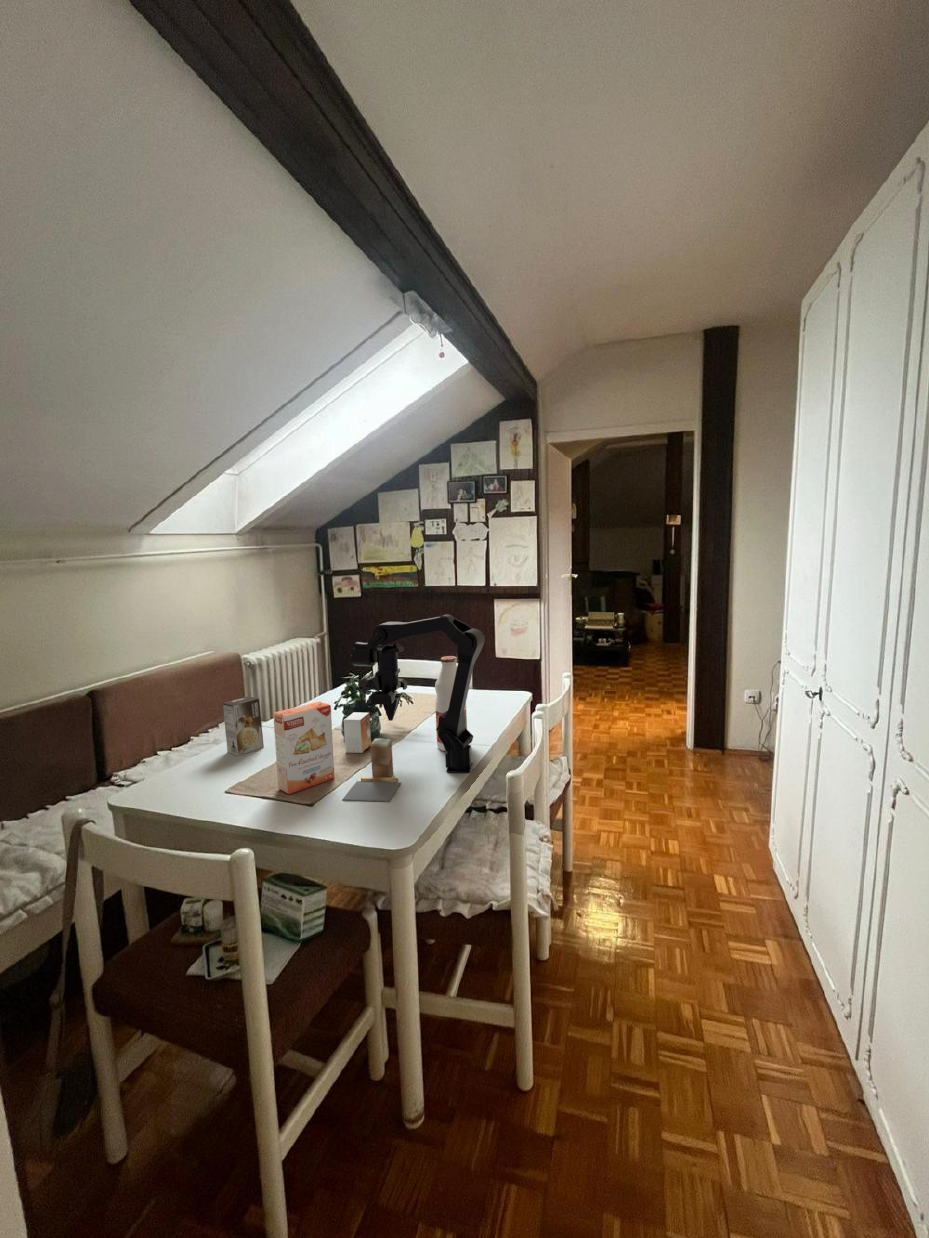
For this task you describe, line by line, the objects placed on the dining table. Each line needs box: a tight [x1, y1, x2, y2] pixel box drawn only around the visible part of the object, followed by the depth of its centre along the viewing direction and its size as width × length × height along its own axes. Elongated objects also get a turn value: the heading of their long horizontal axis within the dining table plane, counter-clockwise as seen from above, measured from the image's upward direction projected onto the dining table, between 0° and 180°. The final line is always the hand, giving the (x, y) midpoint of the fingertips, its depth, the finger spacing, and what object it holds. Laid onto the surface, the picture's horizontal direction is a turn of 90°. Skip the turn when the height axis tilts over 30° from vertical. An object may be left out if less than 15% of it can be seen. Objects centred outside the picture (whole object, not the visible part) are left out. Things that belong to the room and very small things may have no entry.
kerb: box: [360, 776, 399, 782], centre depth 155 cm, size 10×1×1 cm, turn 81°
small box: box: [343, 711, 372, 754], centre depth 180 cm, size 8×6×10 cm
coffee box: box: [222, 695, 265, 757], centre depth 182 cm, size 9×6×16 cm
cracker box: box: [272, 701, 335, 795], centre depth 154 cm, size 14×6×21 cm, turn 136°
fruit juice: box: [434, 655, 468, 752], centre depth 178 cm, size 9×9×28 cm
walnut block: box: [370, 738, 394, 778], centre depth 158 cm, size 4×4×10 cm
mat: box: [341, 780, 402, 803], centre depth 149 cm, size 12×11×1 cm
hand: (390, 720), depth 167 cm, fingers closed
